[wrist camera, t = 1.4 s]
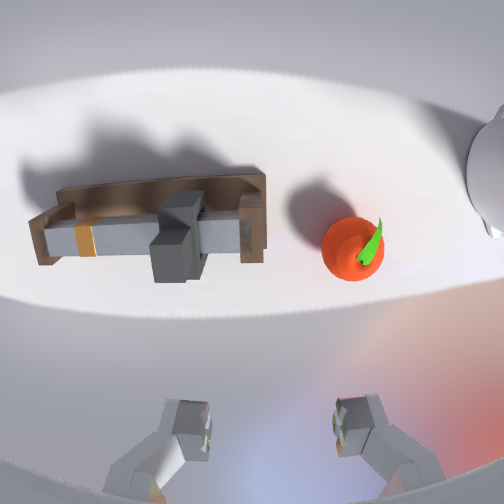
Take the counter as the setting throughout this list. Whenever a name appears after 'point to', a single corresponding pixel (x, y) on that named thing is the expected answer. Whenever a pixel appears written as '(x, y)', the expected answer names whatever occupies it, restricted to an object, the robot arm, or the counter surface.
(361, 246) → the clementine
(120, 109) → the counter surface
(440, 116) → the counter surface
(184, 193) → the grey clamp
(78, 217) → the base
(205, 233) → the grey metal bar
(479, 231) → the counter surface
